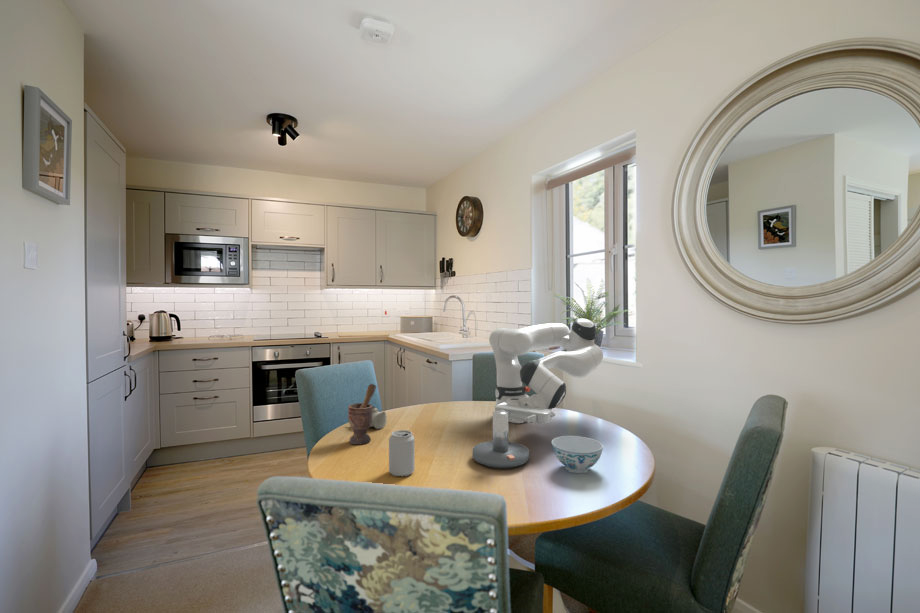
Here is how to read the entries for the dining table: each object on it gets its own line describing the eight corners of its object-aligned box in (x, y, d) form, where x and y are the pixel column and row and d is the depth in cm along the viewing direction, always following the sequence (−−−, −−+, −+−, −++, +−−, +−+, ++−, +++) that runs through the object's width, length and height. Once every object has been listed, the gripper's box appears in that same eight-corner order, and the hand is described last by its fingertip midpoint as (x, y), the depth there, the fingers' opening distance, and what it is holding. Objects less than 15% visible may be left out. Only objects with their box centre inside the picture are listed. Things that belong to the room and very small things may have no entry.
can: (409, 479, 122) (409, 437, 121) (385, 476, 123) (385, 435, 123) (417, 469, 129) (417, 429, 129) (394, 467, 130) (394, 428, 130)
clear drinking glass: (504, 446, 139) (504, 410, 139) (510, 451, 135) (511, 413, 135) (490, 448, 138) (490, 411, 138) (496, 453, 133) (496, 415, 133)
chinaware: (572, 482, 119) (572, 455, 119) (541, 463, 133) (541, 439, 133) (613, 474, 125) (613, 448, 125) (580, 456, 139) (580, 433, 139)
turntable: (464, 450, 142) (464, 442, 142) (513, 444, 148) (513, 436, 148) (485, 470, 125) (485, 461, 125) (539, 462, 131) (539, 454, 131)
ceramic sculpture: (375, 410, 164) (348, 407, 172) (376, 432, 164) (349, 428, 172) (393, 404, 173) (367, 402, 181) (394, 426, 173) (368, 422, 181)
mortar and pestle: (357, 434, 162) (357, 382, 162) (379, 435, 161) (379, 383, 160) (344, 444, 151) (344, 388, 150) (367, 446, 149) (367, 389, 149)
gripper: (557, 422, 150) (542, 432, 138) (504, 414, 161) (487, 423, 149) (557, 404, 150) (542, 412, 138) (505, 398, 161) (487, 405, 149)
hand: (513, 418), depth 144 cm, fingers open, 8 cm apart
